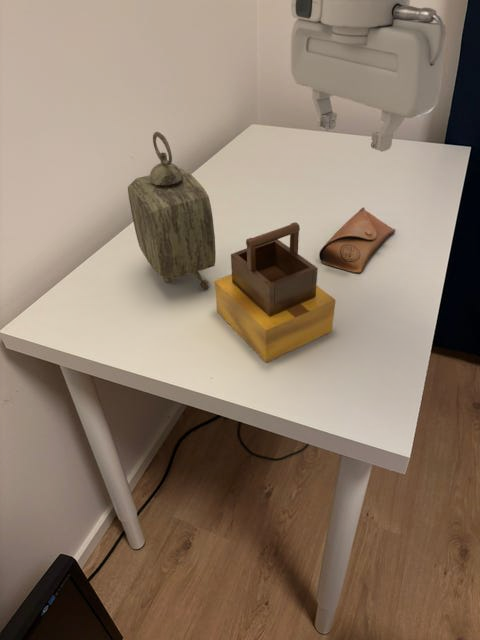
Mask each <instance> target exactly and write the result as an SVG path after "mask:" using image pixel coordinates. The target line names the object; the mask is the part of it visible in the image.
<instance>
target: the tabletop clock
mask: <svg viewBox="0 0 480 640" xmlns="http://www.w3.org/2000/svg"><path fill="white" fill-rule="evenodd" d="M152 134H153V135H152V143H153V148H154V151H155V154H156V155H157V157H158V159H159V161H160V163H157V164H156V165H154V166H153V167H152V168H151V170H150V173H149V175H145V176H140V177H136V178H135V179H134V180H133V181H132V182H131V183H130V184H129V185H128V186H127V194H128V200H129V205H130V210H131V216H132V217H131V218H132V221H133V226H134V230H135V231H134V232H135V235H136V239H137V243H138V246H139V248H140V251H141V253H142V255H143V256H144V257H145V259H146V260H147V262H148V264H149V265H150V266H151V268H152V269H153V270H154V272H155V273H156V274H157V275H158V276H159V277H162V280H163V282H164V283H170V282H171V281H172V280H174V279H177V278H180V277H184V276H187V275H191V274H192V275H194V277H195V278H196V279H197V280H198V281H199V287H200V288H201V289H202V290H207V289H209V287H210V282H209V281H208V280H206V279H203V277H202V276H201V274H200V271H203V270H206V269H210V268H214V267H215V266H216V235H215V226H214V217H213V211H212V204H211V201H210V197H209V195H208V192H207V191H206V189H205V188H204V186H203V185H202V184H201V183H200V182H199V181H198V180H197V179H196V178H195V176H194V175H192V174H191V173H189V172H188V171H187V170H185V169H184V168H183V167H180V168H179V166H177V165H176V164H174V163H173V155H172V154H173V153H172V150H171V147H170V144H169V141H168V140H167V138H166V136H165V135H163V134H162V133H161V132H159V131H155V132H154V133H152ZM157 138H158V139H160V141H161V142H162V143H163V145H164V147H165V149H166V152H167V153H166V152H164V151H162V152H160V150H159V148H158V145H157ZM167 154H168V155H167Z"/></svg>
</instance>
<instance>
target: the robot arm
mask: <svg viewBox="0 0 480 640" xmlns="http://www.w3.org/2000/svg"><path fill="white" fill-rule="evenodd" d="M290 11H291V12H290V13H291V16H292V17H293V18H294V19H296V20H295V21H294V23H293V25H292V29H291V35H290V36H291V37H290V40H291V41H290V71H291V75H292V77H293V81H294V82H295V84H296V85H299V86H302V87H305V88H309V89H312V96H311V97H312V101H313V104H314V107H315V110H316V113H317V115H318V116H317V128H319V129H321V130H322V129H323V130H325V131H329V130H334V129H335V128H336V126H337V118H338V117H337V115H338V114H337V113H336V112H334V111H333V107H332V102H331V97H334V96H335V97H338V98H341V99H344V100H348V101H351V102H354V103H356V104H361V105H363V106H367V107H371V108H373V109H377V110H380V111H381V117H380V120H381V121H383V122H384V123H383V124H382V126H381V127H380V129H379V131H375V132H372V134H371V143H370V147H371V148H372V149H374V150H376V151H379V152H386V151H388V150H390V149H391V147H392V145H393V137H394V134H395V133H396V131H397V130H398V128H399V127H401V125H402V123H403V121H405V118H406V119H413V118H417V117H420V116H423V115H427V114H429V113H430V112H432V111H433V110H434V109H435V107H437V105H438V103H439V98H440V93H441V85H442V79H443V78H442V77H443V67H444V65H443V64H444V46H445V45H444V44H445V41H446V40H445V39H446V32H447V27H446V24H444V21H443V19H442V18H441V16H439V15H438V13H437V10H436V9H435V8H431V7H417V6H413V5H411V0H291V2H290ZM434 21H435V22H434Z"/></svg>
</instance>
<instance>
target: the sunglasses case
mask: <svg viewBox="0 0 480 640" xmlns="http://www.w3.org/2000/svg"><path fill="white" fill-rule="evenodd" d="M395 232H396V229H395V228H393V227H391V226H390V225H388V224H386V223H385V222H384V221H382V220H380V219H379V218H378V217H376V216H375V215H373V214H372V213H370V212H369V211H367V210H366V209H365V207H361V208H360V209H359V211H357V212H356V213H355V214H354V215H353V216H351V218H349V219H348V220H347V221H346V222H345V223H344V224H343V225H342V226H341V227H340V228H338V230H337V231H336V232H335V233H334V234H333V235H332V236H331V237H330V239H329V240H328V241H327V242H326V243H325V245H323V246H322V247H321V249H320V251H319V253H318V254H319V255H318V257H319V261H320V262H321V263H322V264H324V265H326V266H329V267H331V268H334V269H337V270H342V271H345V272H350V273H353V274H354V273H356V274H357V273H358V274H361V273H362V272H363V270H364V269H365V267H366V265H367V263H368V262H369V261H370V259H371V258H372V256H373V255H375V253H376V252H377V250H378V249H379V248H380V247H381V246H382V245H383V244H384V243H385V242H386V241H387V240H388V239H389V238H390V237H391V236H392V235H393V234H394V233H395Z"/></svg>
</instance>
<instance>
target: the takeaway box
mask: <svg viewBox="0 0 480 640" xmlns="http://www.w3.org/2000/svg"><path fill="white" fill-rule="evenodd" d="M214 291H215V302H216V304H215V305H216V312H217V313H218V314H219V315H220V316H221V317H222V318H223V319H224V320H225V321H226V322H227V324H229V325H230V327H232V328H233V330H234V331H235V332H236V333H237V334H238V336H240V337H241V338H242V339H243V340H244V341H245V342H246V343H247V344H248V345H249V346H250V348H252V350H254V352H255V353H256V354H258V356H259V357H260V358H261V360H263V361H264V362H265V363H268V362H271V361H272V360H274V359H276V358H279V357H281V356H283V355H285V354H286V353H289V352H291V351H294V350H295V349H297V348H300V347H301V346H305V345H307V344H308V343H310V342H312V341H314V340H316V339H318V338H321V337H322V336H325V335H327V334H329V333H331V332H333V326H334V325H333V324H334V319H335V318H334V316H335V310H336V309H335V307H336V299H335V298H334V297H333V296H332V295H330V294H329V293H328V292H326V291H325V290H324V289H322V288H321V287H320V286H319V285H317V284H316V297H314V298H312V299H310V300H307V301H305V302H303V303H300V304H298V305H296V306H293V307H291V308H289V309H286V310H284V311H282V312H280V313H277V314H275V315H273V316H270V317H269V316H268V315H267V314H266V313H265V312H264V311H263V310H262V309H261V308H260V307H259V306H257V305H256V304H255V303H254V302H253V301H252V300H251V299H250V298H249V297H248V296H247V295H246V294H244V293H243V292H242V291H241V290H240V289H239V288H238V287H237V286H236V285H235V284H234V283H233V282H232V273H231V274H229V275H226V276H223V277H221V278H218V279H215V280H214Z"/></svg>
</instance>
